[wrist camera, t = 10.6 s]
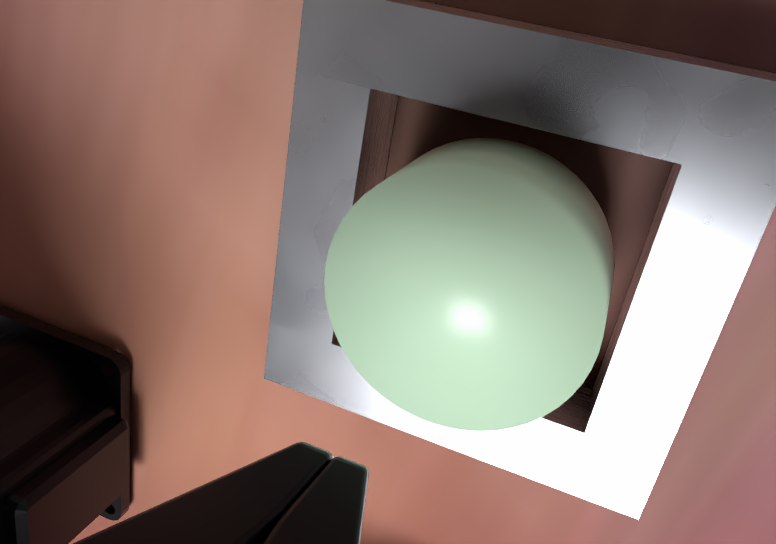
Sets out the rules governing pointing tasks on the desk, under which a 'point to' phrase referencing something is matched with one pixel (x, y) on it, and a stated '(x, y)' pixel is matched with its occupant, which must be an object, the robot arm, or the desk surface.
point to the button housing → (556, 115)
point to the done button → (473, 284)
